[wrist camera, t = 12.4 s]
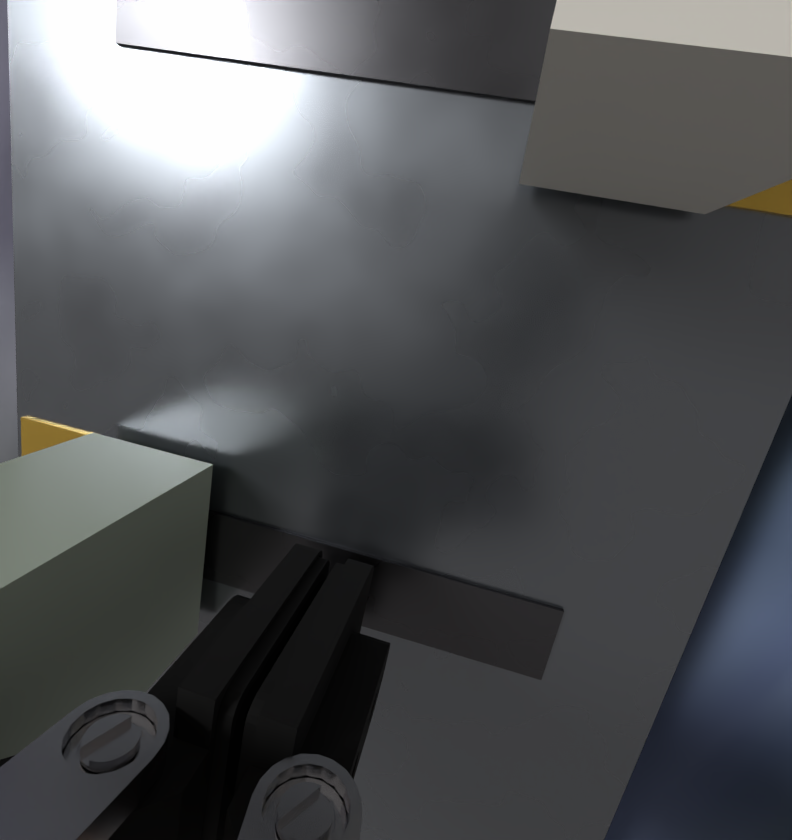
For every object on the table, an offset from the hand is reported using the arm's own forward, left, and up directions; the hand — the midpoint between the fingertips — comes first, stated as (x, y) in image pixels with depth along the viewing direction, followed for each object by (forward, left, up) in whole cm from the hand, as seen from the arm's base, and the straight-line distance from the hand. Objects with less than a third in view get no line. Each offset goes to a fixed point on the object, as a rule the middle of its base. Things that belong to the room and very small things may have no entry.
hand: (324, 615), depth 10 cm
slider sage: (+5, 0, -1) cm, 5 cm away
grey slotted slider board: (+1, 0, -4) cm, 4 cm away
